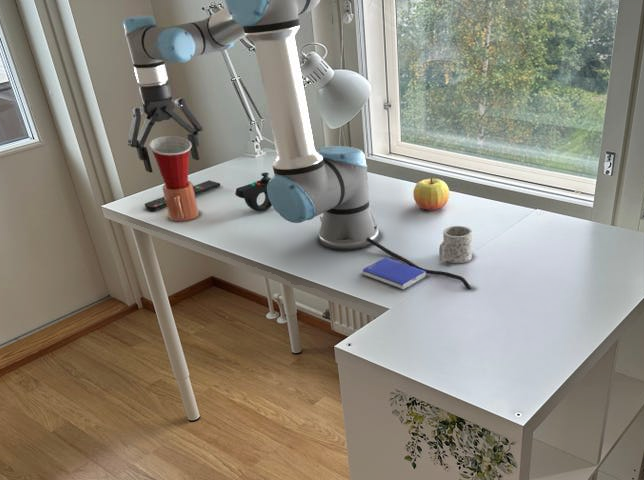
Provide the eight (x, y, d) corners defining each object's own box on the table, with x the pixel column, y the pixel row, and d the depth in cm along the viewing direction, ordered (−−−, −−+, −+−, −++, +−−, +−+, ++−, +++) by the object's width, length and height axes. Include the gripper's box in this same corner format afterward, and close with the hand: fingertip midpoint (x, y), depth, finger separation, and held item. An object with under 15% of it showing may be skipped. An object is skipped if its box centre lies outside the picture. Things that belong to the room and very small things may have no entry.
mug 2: (455, 249, 176) (454, 223, 172) (477, 255, 172) (477, 230, 168) (429, 263, 170) (428, 237, 166) (451, 270, 166) (451, 244, 162)
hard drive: (362, 269, 165) (402, 283, 158) (386, 256, 170) (425, 270, 163) (362, 275, 166) (402, 290, 159) (386, 262, 171) (426, 276, 164)
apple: (443, 198, 205) (443, 171, 200) (453, 210, 197) (453, 182, 192) (410, 203, 203) (409, 175, 198) (419, 215, 195) (418, 187, 190)
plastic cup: (173, 197, 191) (166, 154, 183) (148, 185, 196) (140, 143, 188) (205, 184, 198) (199, 143, 190) (180, 173, 203) (173, 132, 195)
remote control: (220, 187, 220) (219, 183, 219) (154, 212, 205) (153, 208, 204) (210, 184, 223) (209, 180, 222) (143, 208, 208) (142, 204, 207)
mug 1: (170, 212, 204) (163, 182, 199) (199, 209, 205) (192, 178, 200) (167, 227, 195) (159, 195, 190) (197, 223, 196) (190, 192, 191)
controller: (282, 206, 204) (277, 172, 199) (245, 219, 198) (239, 184, 192) (274, 203, 207) (269, 169, 202) (237, 215, 200) (230, 180, 195)
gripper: (191, 72, 191) (207, 151, 202) (99, 90, 177) (123, 173, 189) (204, 76, 186) (220, 156, 198) (111, 94, 173) (134, 179, 184)
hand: (173, 165), depth 193 cm, fingers open, 13 cm apart
